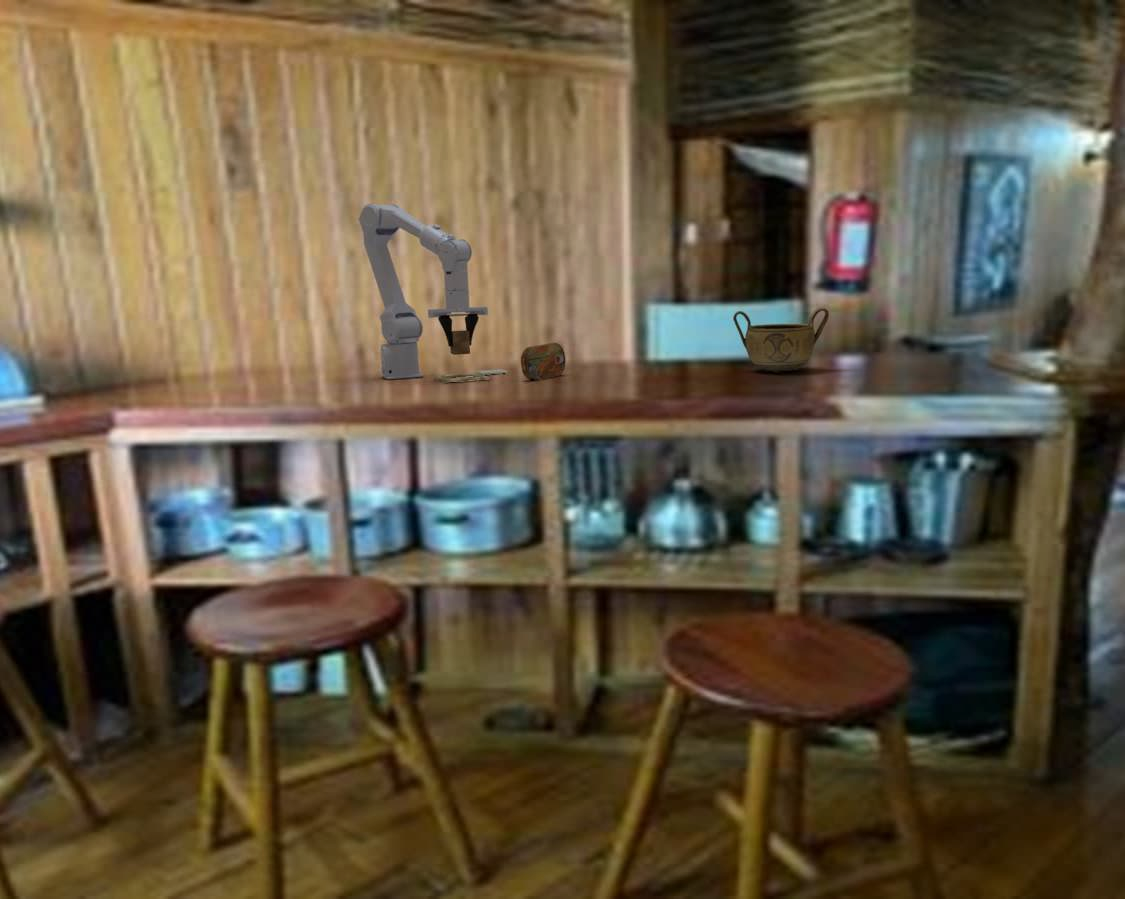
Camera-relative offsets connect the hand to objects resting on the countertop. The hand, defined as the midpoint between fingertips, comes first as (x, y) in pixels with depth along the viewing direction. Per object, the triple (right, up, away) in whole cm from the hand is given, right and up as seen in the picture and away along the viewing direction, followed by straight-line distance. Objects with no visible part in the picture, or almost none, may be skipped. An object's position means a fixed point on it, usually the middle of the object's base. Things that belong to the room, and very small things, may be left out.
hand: (459, 345), depth 243 cm
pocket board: (0, -8, +2) cm, 8 cm away
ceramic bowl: (+78, -7, -5) cm, 78 cm away
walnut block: (0, -2, 0) cm, 2 cm away
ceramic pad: (+7, -6, +13) cm, 16 cm away
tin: (+21, -8, -1) cm, 22 cm away
